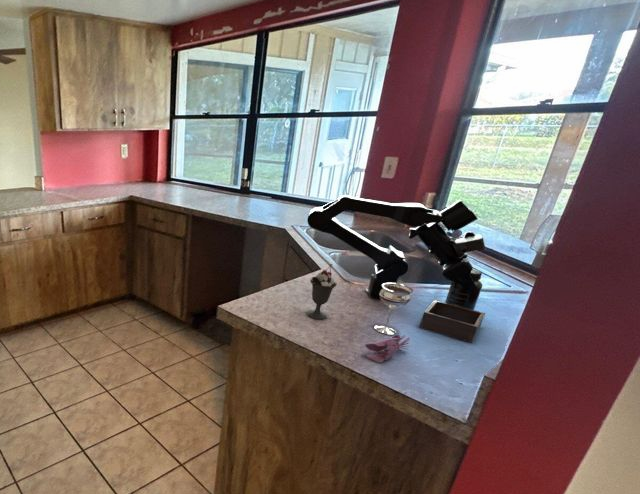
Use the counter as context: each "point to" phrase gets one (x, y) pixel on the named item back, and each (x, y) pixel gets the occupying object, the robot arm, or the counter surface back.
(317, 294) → the sundae
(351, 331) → the counter surface
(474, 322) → the caddy
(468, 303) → the supplement bottle
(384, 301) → the wineglass
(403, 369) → the counter surface
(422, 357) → the counter surface
